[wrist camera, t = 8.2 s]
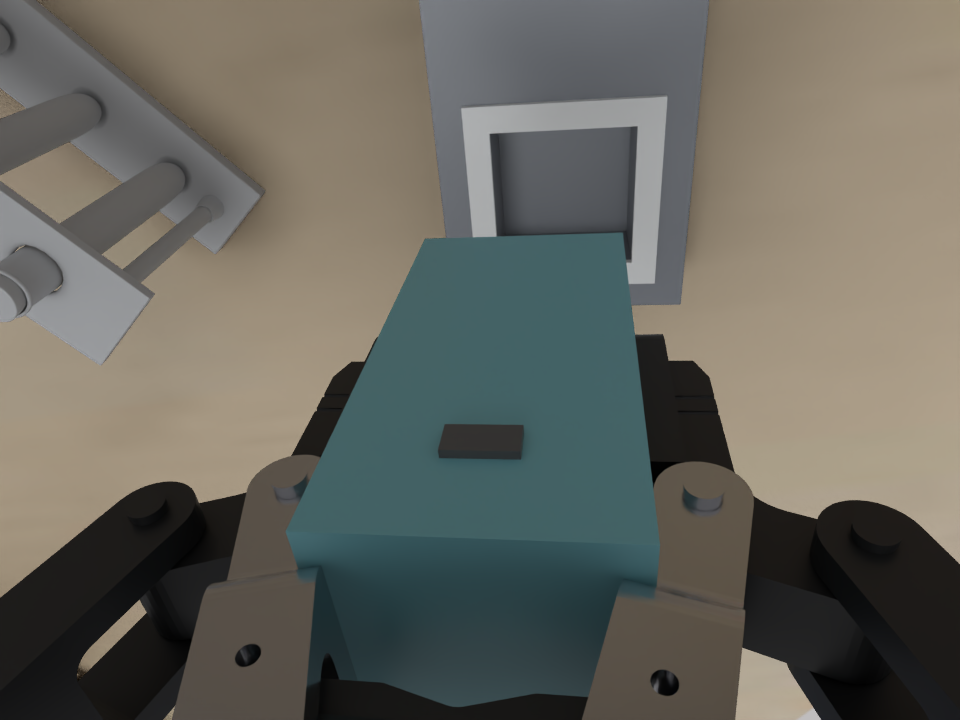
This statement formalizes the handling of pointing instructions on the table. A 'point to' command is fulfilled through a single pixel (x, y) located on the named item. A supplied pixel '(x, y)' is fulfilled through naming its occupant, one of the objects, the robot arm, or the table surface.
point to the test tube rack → (93, 230)
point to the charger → (489, 473)
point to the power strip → (570, 123)
